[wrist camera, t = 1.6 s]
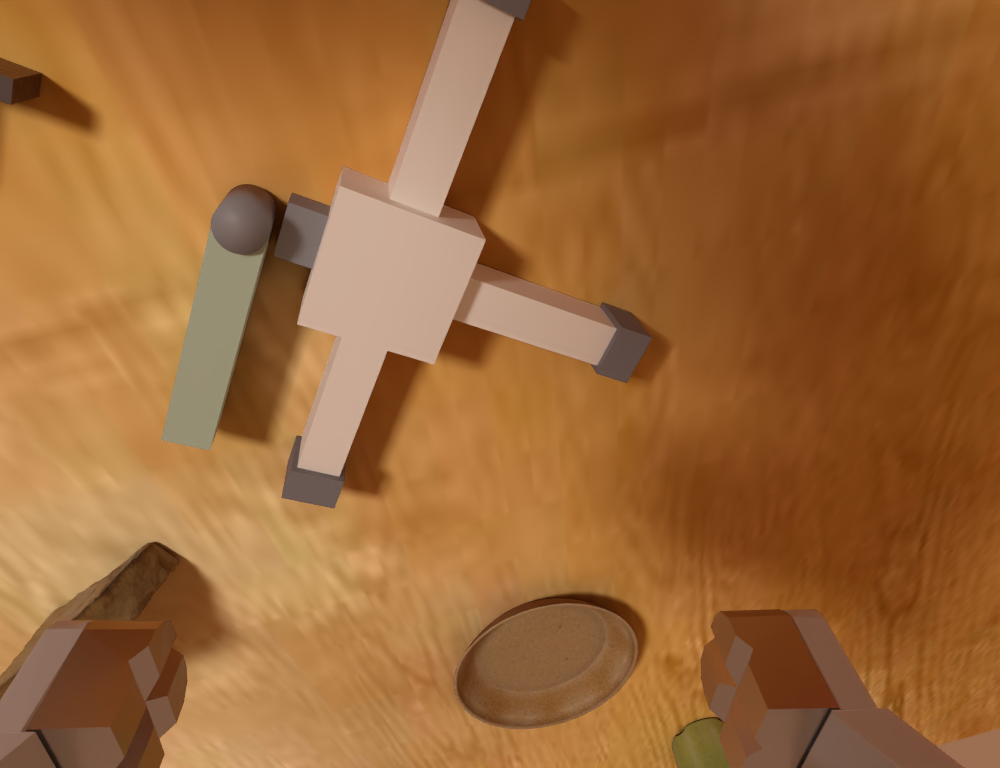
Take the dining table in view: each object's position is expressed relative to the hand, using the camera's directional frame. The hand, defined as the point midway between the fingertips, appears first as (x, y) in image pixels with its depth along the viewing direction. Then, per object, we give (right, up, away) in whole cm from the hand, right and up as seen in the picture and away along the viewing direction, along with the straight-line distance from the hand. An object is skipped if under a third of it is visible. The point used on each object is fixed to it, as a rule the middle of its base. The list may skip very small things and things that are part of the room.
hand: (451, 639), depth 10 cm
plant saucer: (+4, -17, +43) cm, 47 cm away
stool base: (-1, +10, +26) cm, 28 cm away
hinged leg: (-14, +8, +24) cm, 29 cm away
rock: (-24, -10, +33) cm, 42 cm away
